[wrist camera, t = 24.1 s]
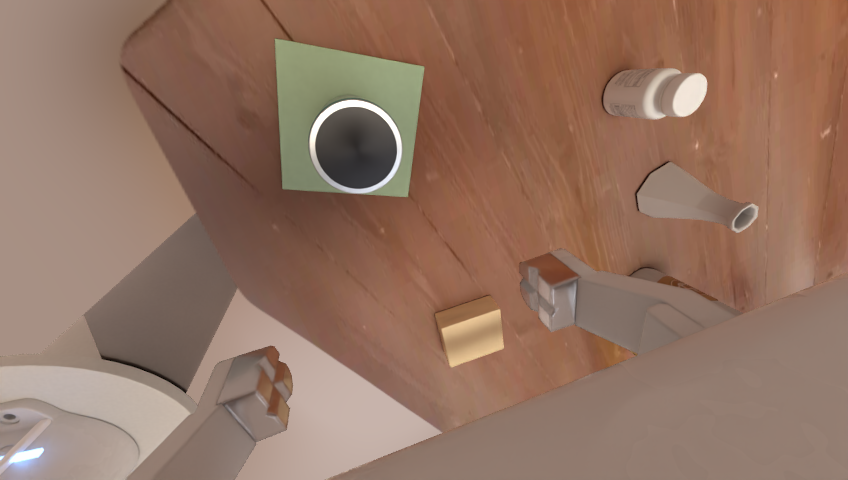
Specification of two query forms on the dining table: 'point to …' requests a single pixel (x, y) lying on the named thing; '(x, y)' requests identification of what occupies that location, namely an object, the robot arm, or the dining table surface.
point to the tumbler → (355, 145)
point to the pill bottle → (654, 93)
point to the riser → (470, 330)
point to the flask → (690, 200)
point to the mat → (327, 79)
